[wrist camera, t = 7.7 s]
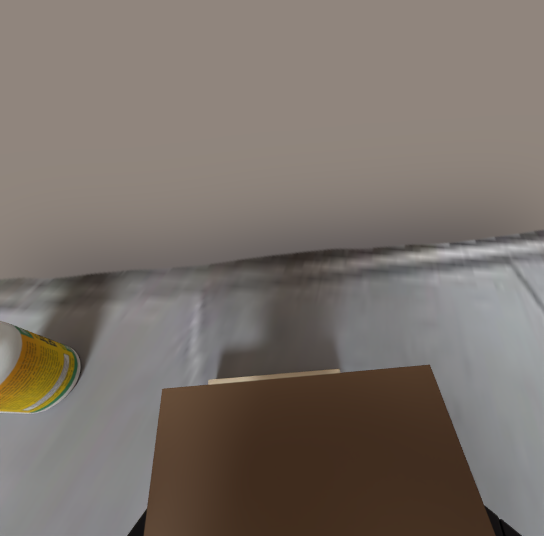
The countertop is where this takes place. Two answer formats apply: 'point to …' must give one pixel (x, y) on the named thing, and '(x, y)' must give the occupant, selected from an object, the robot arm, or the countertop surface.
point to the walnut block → (312, 459)
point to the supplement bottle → (34, 371)
